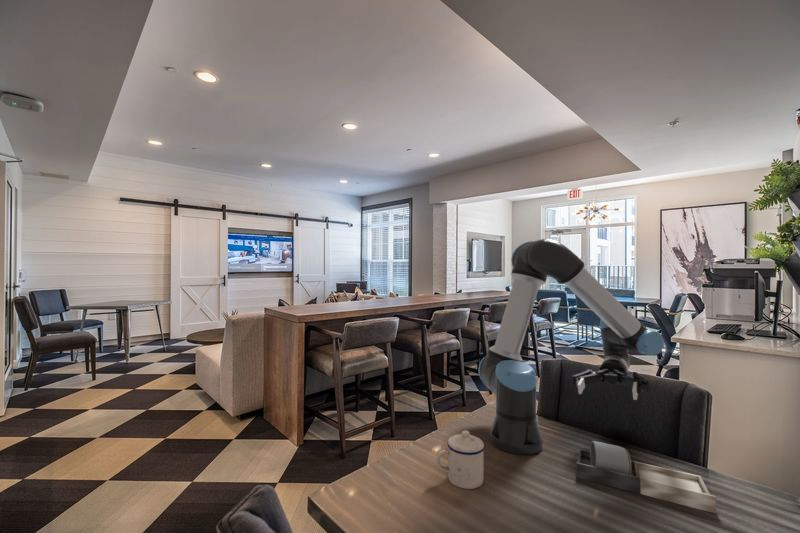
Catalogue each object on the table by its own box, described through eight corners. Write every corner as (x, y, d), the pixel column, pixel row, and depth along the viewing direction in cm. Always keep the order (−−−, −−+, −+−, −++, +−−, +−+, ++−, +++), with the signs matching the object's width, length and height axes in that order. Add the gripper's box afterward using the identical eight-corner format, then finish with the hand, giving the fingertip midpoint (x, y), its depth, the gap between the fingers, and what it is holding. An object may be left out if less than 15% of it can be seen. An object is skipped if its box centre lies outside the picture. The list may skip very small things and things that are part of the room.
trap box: (576, 477, 88) (576, 463, 88) (578, 454, 99) (578, 441, 99) (716, 513, 75) (716, 497, 75) (700, 482, 86) (700, 467, 86)
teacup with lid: (477, 468, 92) (477, 423, 92) (489, 489, 83) (489, 439, 83) (432, 470, 90) (432, 425, 91) (440, 492, 81) (440, 441, 82)
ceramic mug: (633, 485, 84) (633, 453, 85) (595, 479, 87) (595, 448, 87) (620, 464, 94) (620, 435, 95) (586, 459, 97) (586, 431, 97)
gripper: (662, 385, 108) (662, 411, 91) (574, 377, 123) (560, 399, 106) (659, 360, 108) (658, 383, 91) (571, 356, 123) (557, 375, 106)
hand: (605, 392), depth 99 cm, fingers open, 13 cm apart
